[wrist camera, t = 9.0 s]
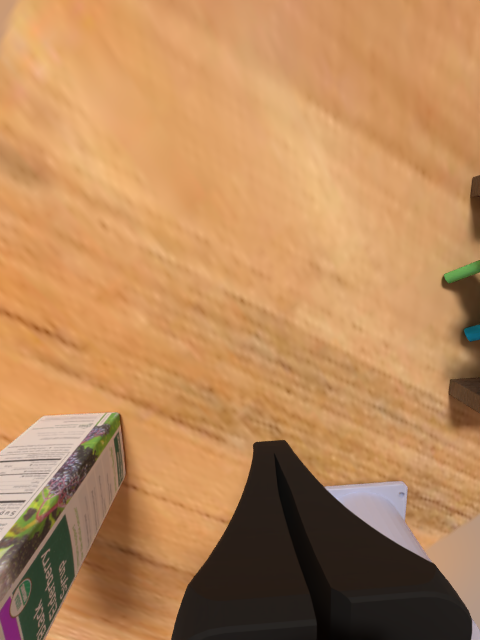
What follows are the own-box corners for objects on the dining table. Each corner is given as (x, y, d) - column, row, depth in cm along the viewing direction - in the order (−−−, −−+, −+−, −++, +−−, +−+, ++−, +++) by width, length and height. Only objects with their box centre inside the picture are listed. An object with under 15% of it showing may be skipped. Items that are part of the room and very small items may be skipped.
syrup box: (128, 476, 23) (-38, 839, 9) (52, 479, 23) (-248, 856, 8) (120, 409, 21) (-90, 705, 7) (39, 413, 21) (-337, 722, 7)
